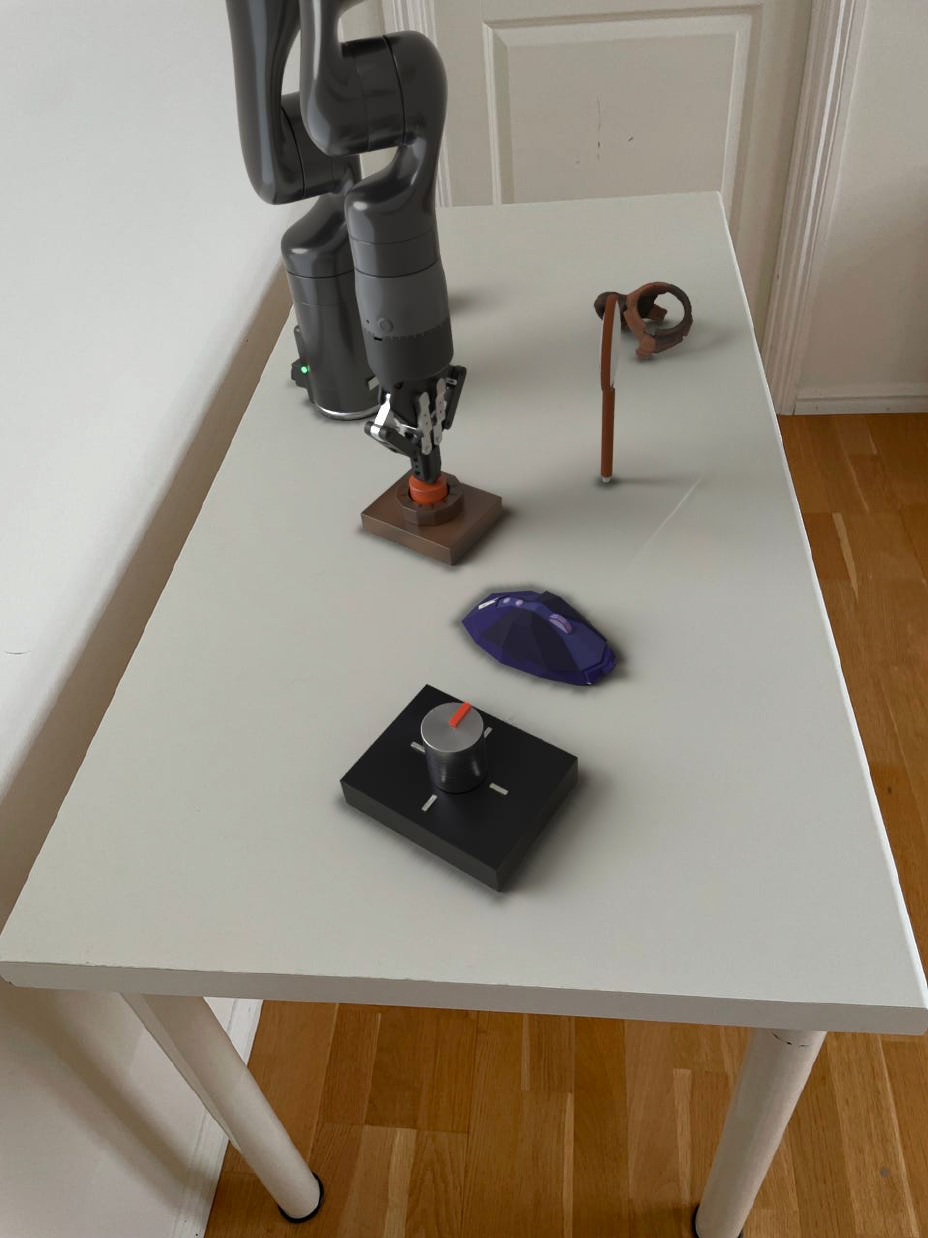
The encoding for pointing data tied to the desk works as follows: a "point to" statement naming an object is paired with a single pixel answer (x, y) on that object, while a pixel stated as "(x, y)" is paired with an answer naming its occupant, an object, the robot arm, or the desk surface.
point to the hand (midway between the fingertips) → (428, 478)
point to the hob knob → (455, 747)
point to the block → (433, 518)
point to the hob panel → (469, 821)
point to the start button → (428, 490)
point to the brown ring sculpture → (649, 316)
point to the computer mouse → (540, 637)
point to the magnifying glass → (609, 380)
